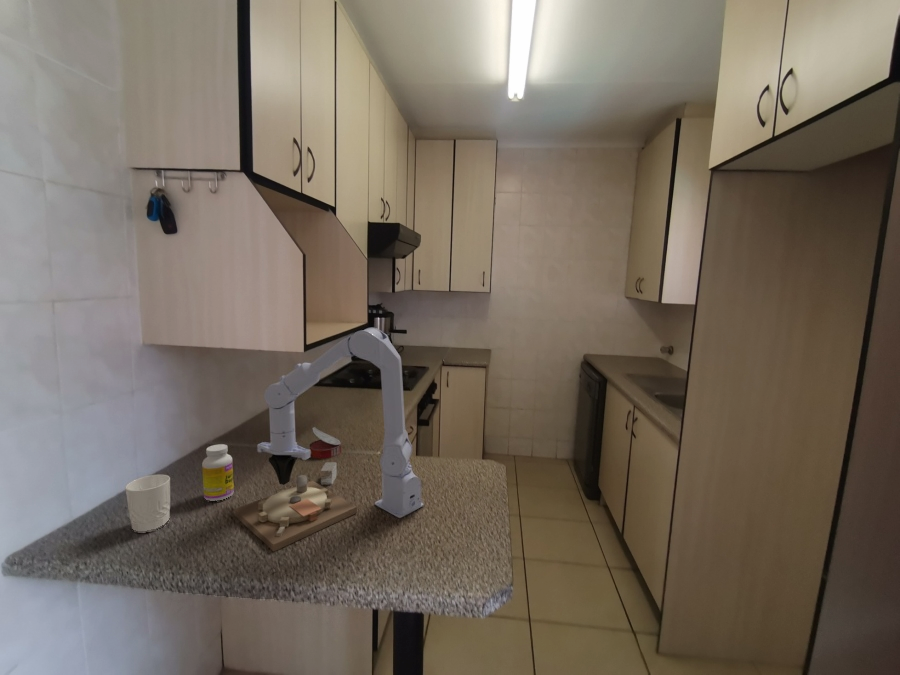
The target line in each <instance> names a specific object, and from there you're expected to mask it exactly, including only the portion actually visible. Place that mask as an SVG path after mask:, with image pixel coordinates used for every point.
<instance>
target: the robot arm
mask: <svg viewBox="0 0 900 675" xmlns="http://www.w3.org/2000/svg"><path fill="white" fill-rule="evenodd" d="M354 356H355V357H356V358H359V359H361V360H365V361H368V362H370V363H371V364H373V365H374V366H375V367H377V368H378V369H379V370H380V380H381V395H382V396H381V398H382V411H383V413H382V414H383V425H384V426H383V429H384V436H383V443H382V455H381V456H380V459H379V465H380V469H381V490H382V491H381V493H382V495H381V496H382V497H381V499H379V500H377V501H374V505H375V506H377V507H378V508H380V509H382V510H384V511H386V512H387V513H389V514H390V515H393V516H395V517H396V518H399V519H402V518H403V517H405V516H407V515H409V514H411V513H413V512H415V511H416V510H418V509H420V508H422V507H424V503H423V502H422V481H421V479H420V477H418V476H417V475H415V473H414V472H413V468H412V467H413V466H412V465H411V464H412V463H411V462H410V457H411V456H412V455H413V445H412V443H411V441H410V440H409V434H408V431H407V430H406V418H405V404H404V403H405V402H404V401H405V400H404V398H405V397H404V386H403V385H404V383H403V367H402V357H401V356H400V353H398V351H397V350H396V348H395V346H394V345H393V344H392V343H391V341H390V337H389V335H388V334H386V333H385V332H383V331H382V330H381V329H379V328H377V327H374V326H373V327H367V328H365V329H364V330H362V329H361V330H358V331H356V332H353V333H352V335H349V336H347V337H344V338H343V339H342V340H340V341H339V342H337V343H336V344H334V345H333V346H331V348H329V349H328V350H327V351H325V352H324V353H323V354H322V355H320V356H319V357H318V358H316V360H314V361H313V362H312V363H311V362H303V363H297V364H296V365H294V366H293V368H294V369H292V370H291V371H290V372H289V373H287V374H286V375H282V376H280V377H279V381H278V382H275V383H272V384H270V385H269V386H268V387H267V388H266V389H265V391H264V394H263V398H264V402H265V403H266V404H267V405H268V408H269V409H268V410H269V412H268V413H269V434H270V436H269V437H270V442H266V441H264V442H263V441H262V442H261V443H258V444H257V452H258V453H263V452H264V453H268V454H271V457H269V458H268V462H269V464H270V465H271V467H273V469H274V471H275V474H276V476H277V480H278V483H279V485H283V486H285V485H287V484H288V483H290V480H291V475H292V472H293V469H294V465H295V464H296V462H297V460H298V459H301V460H303V461H306V460H308V459H309V458H311V456H310V448H305V447H302V446H300V445H298V442H296V441H297V440H296V420H295V419H296V417H295V416H296V415H295V414H296V413H295V412H296V411H295V410H296V409H295V401H296V400H297V398H298V397H299V396H300V395H302V394H303V393H305V392H306V391H308V390H309V389H310V388H311V387H313V386H315V385H316V384H317V383H318V382H319V381H320V378H321V374H322V372H325V371H326V370H327V369H329V368H331V367H332V366H333V365H334V364H336V363H337V362H339V361H341V360H342V359H343V358H352V357H354Z"/></svg>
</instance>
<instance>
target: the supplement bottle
mask: <svg viewBox="0 0 900 675" xmlns="http://www.w3.org/2000/svg"><path fill="white" fill-rule="evenodd" d="M228 451H229V450H228V445H227V444H223V443H221V444H213V445H210V446H208V447H207V448H206V450H205V454H206V456H207V457H205V458H204V459H203V460H202V463H201V464H202V466H201V467H202V468H201V469H202V480H203V481H202V483H203V484H202V485H203V487H202V489H203V499H204V498H205V499H206V500H210V501H215V500H216V501H217V500H222V501H224V500H223V499H225V500H227V499H229V498H231V497H232V496H233V495H234V492H235V491H234V490H235V485H234V466H233V465H234V464H233V463H234V462H233V457H232V455H230V454H228ZM230 496H231V497H230ZM228 497H229V498H228ZM226 498H227V499H226ZM205 499H204V500H205ZM206 500H205V501H206ZM217 502H218V501H217Z"/></svg>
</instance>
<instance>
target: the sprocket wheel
mask: <svg viewBox="0 0 900 675" xmlns="http://www.w3.org/2000/svg"><path fill="white" fill-rule="evenodd" d="M295 480H296V486H297V488H293V487H290V488H287V489H284V488H280V489H277V490H275V494H272V496H271V495H270V496H271V497H269V498H268V499H267V500H261V501H260V502H259V503H258V509H259V510H263V512H261V513H259V520H260V521H261V522H262V523H263V522H265V521H267V520H268V521H270V522H273V523H279V524H280V527H288V525H289V524H291V523H297V522H302V521H305V520H309V521H314V520H316V519H317V515H318V514H320V513H321V512H322V511H323V510H324V509H325V508H331V506H332V499H327V496H329V491H330V490H329V489H327V488H326V487H324V488H323V489H321V490H320V489H317V488H313V487H309V485H307V482H308V476H307V475H305V474H300V475H297V476H296V479H295Z"/></svg>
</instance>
